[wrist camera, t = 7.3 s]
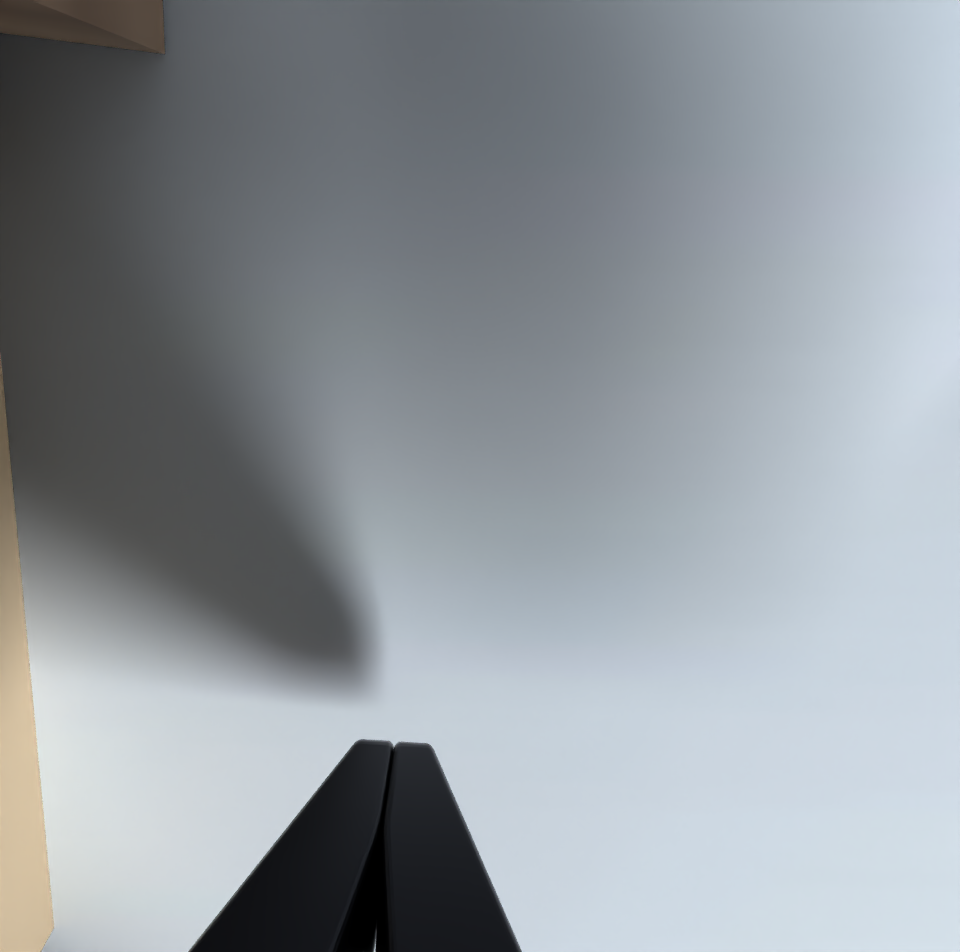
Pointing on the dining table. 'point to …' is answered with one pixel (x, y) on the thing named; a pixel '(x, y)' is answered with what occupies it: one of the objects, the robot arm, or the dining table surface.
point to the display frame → (88, 22)
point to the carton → (18, 748)
